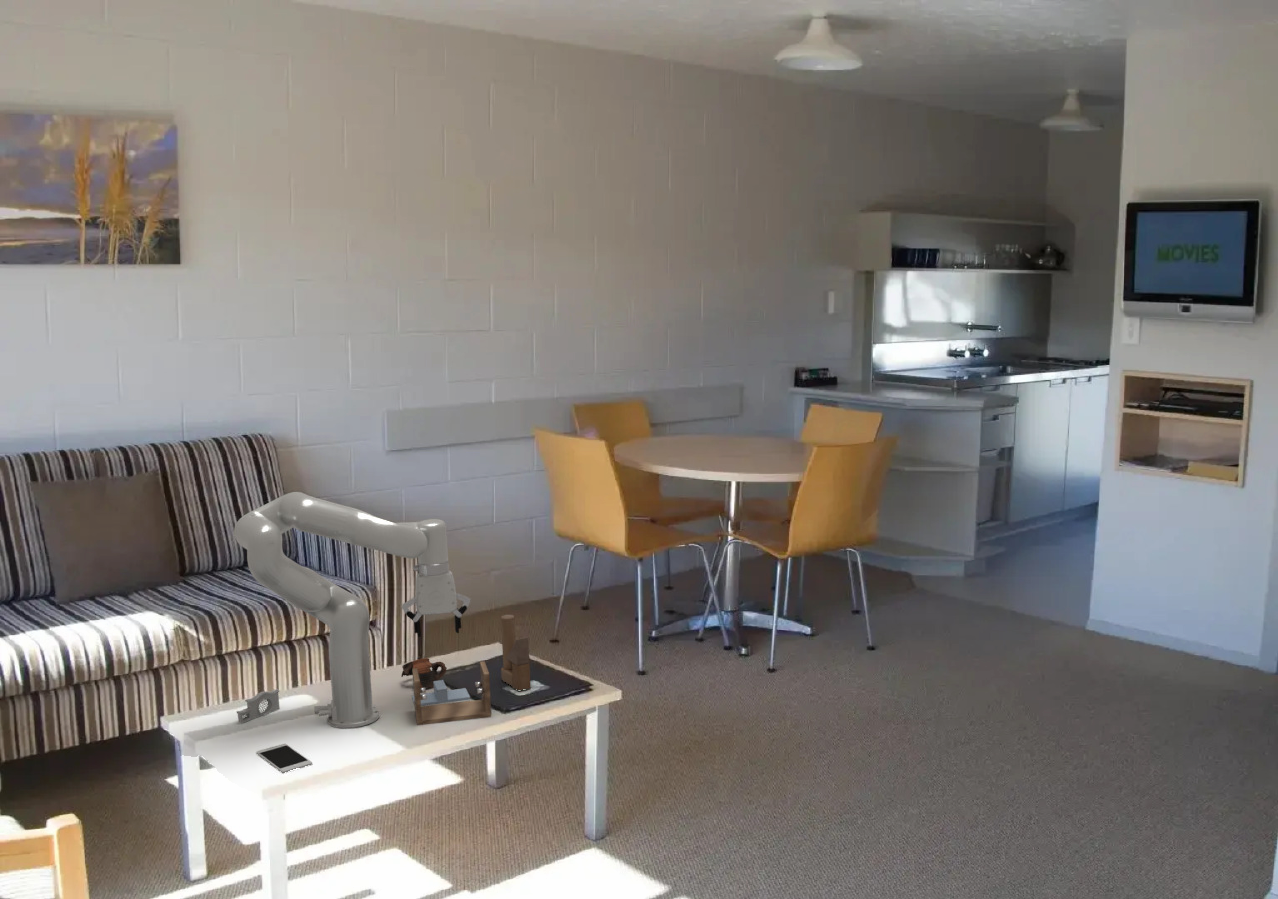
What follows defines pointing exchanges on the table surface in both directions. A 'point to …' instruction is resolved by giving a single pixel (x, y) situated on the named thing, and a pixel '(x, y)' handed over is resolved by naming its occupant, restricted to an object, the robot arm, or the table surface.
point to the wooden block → (514, 656)
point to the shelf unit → (453, 709)
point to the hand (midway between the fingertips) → (438, 633)
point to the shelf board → (443, 694)
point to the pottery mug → (425, 671)
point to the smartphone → (284, 758)
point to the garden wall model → (253, 705)
